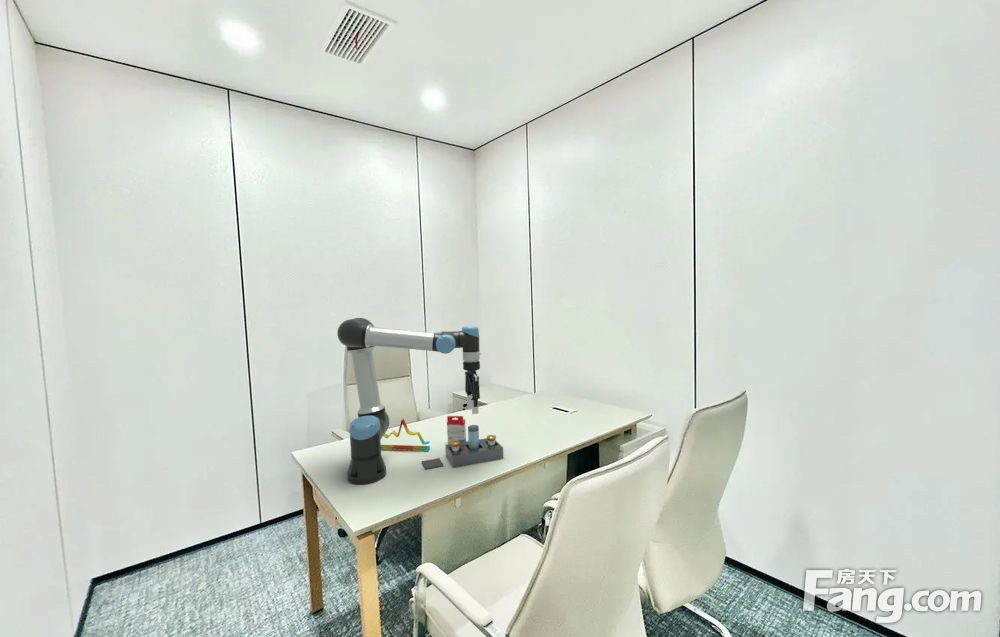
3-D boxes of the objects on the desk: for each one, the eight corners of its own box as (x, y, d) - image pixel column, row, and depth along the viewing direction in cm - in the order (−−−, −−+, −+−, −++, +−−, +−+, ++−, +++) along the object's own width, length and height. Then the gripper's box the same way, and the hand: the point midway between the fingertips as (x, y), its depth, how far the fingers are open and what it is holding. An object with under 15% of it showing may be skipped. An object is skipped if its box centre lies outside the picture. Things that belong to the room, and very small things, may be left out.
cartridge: (470, 460, 174) (469, 429, 173) (467, 456, 178) (466, 425, 177) (480, 458, 175) (479, 427, 175) (477, 454, 180) (476, 424, 179)
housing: (453, 467, 166) (452, 456, 166) (445, 455, 179) (445, 444, 179) (503, 458, 174) (503, 447, 174) (492, 447, 187) (492, 437, 187)
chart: (367, 450, 188) (365, 420, 187) (370, 448, 191) (369, 417, 191) (427, 452, 184) (426, 421, 183) (430, 449, 187) (428, 419, 186)
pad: (424, 469, 165) (424, 468, 165) (421, 462, 172) (421, 461, 172) (443, 466, 168) (443, 465, 168) (439, 459, 175) (439, 458, 175)
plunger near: (452, 461, 171) (451, 444, 171) (450, 457, 175) (449, 441, 175) (461, 459, 173) (461, 443, 172) (459, 456, 177) (458, 440, 176)
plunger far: (488, 455, 177) (488, 438, 177) (485, 451, 181) (485, 435, 181) (497, 453, 179) (497, 437, 178) (494, 450, 183) (494, 434, 182)
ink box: (466, 442, 196) (465, 413, 195) (464, 445, 191) (463, 416, 190) (449, 441, 196) (448, 413, 196) (447, 445, 192) (446, 416, 191)
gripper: (486, 363, 167) (487, 416, 168) (472, 357, 185) (474, 404, 186) (469, 364, 164) (471, 418, 165) (457, 358, 182) (459, 406, 184)
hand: (472, 411), depth 176 cm, fingers open, 7 cm apart
